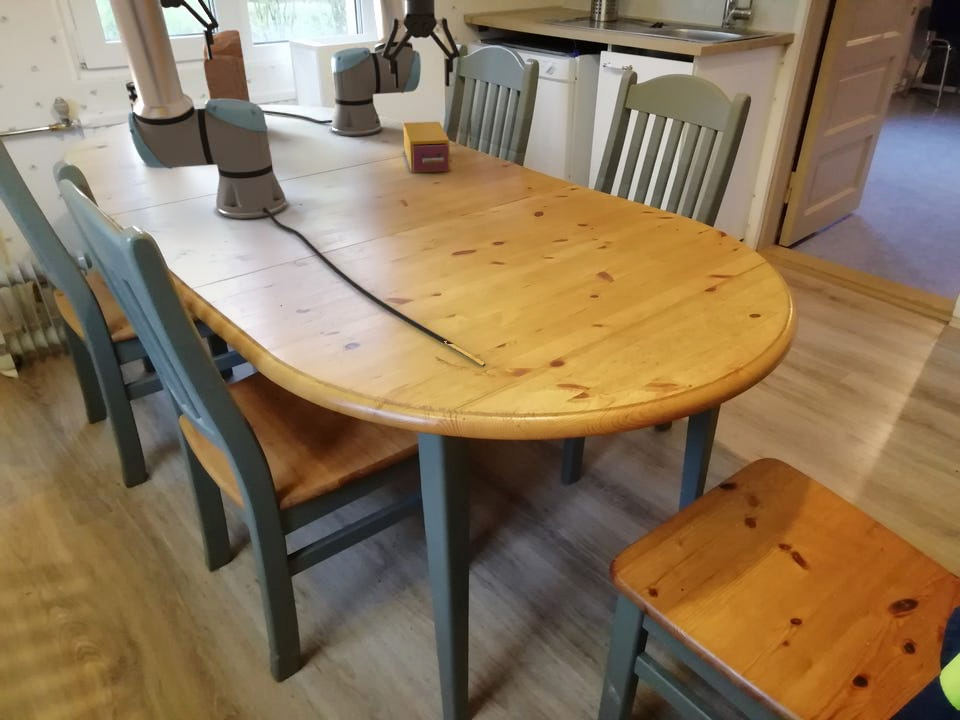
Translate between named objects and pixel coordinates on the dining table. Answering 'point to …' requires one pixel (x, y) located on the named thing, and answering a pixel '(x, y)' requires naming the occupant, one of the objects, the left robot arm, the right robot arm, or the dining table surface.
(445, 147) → the drawer
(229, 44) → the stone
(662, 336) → the dining table surface
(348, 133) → the right robot arm
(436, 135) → the cabinet
